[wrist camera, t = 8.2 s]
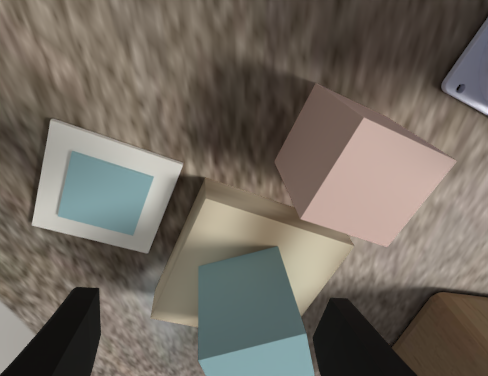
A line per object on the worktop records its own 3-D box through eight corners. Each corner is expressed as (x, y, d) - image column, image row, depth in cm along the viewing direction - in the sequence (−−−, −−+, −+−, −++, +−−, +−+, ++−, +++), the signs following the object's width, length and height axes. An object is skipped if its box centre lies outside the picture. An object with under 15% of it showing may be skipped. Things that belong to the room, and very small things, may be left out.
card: (183, 162, 19) (182, 166, 18) (148, 250, 22) (147, 255, 21) (52, 118, 17) (49, 121, 16) (33, 222, 20) (30, 227, 19)
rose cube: (387, 116, 19) (457, 160, 14) (341, 186, 21) (387, 247, 16) (315, 82, 17) (364, 117, 12) (273, 161, 19) (300, 219, 14)
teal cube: (278, 246, 20) (306, 333, 14) (289, 300, 22) (317, 390, 17) (198, 266, 20) (198, 360, 14) (219, 317, 22) (225, 413, 17)
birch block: (337, 218, 23) (354, 246, 20) (273, 310, 27) (281, 343, 24) (205, 172, 20) (205, 198, 17) (156, 284, 24) (150, 318, 21)
